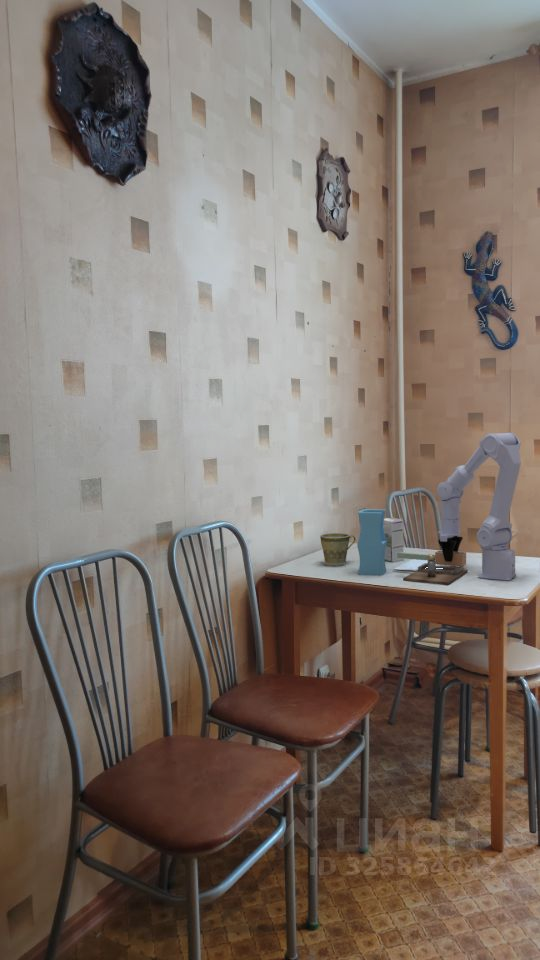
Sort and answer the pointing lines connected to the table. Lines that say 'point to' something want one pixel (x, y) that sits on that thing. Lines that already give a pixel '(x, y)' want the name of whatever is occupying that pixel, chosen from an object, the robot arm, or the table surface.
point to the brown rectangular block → (457, 560)
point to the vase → (372, 542)
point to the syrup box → (393, 538)
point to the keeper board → (436, 574)
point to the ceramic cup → (335, 548)
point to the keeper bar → (416, 556)
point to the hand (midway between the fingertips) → (450, 560)
